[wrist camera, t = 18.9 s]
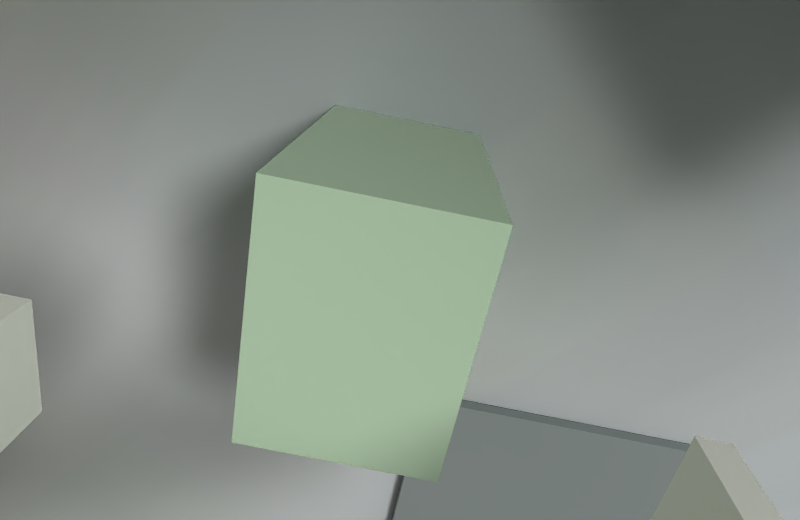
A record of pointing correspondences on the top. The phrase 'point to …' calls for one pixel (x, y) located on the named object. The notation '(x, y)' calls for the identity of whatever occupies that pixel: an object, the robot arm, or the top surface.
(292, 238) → the pale green block
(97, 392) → the top surface
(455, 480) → the plate
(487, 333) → the top surface
